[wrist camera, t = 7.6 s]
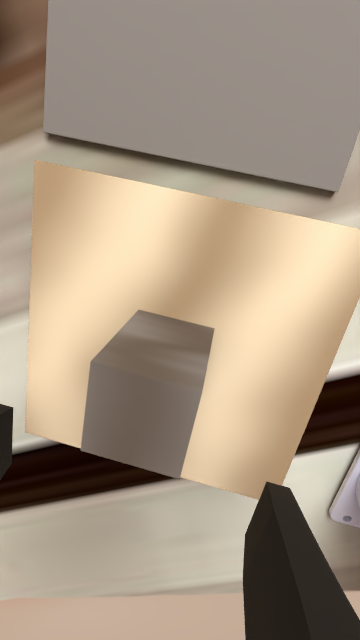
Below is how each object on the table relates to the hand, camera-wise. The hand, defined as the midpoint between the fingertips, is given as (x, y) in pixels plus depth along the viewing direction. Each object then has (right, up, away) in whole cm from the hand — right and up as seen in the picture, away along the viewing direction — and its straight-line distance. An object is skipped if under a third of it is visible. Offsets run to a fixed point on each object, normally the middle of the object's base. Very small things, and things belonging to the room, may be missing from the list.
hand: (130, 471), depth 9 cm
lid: (+1, +3, +5) cm, 6 cm away
